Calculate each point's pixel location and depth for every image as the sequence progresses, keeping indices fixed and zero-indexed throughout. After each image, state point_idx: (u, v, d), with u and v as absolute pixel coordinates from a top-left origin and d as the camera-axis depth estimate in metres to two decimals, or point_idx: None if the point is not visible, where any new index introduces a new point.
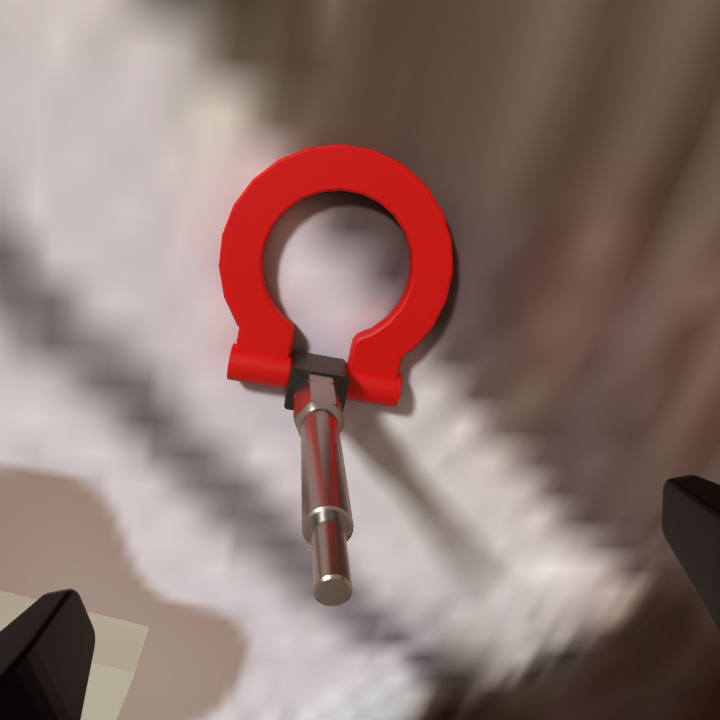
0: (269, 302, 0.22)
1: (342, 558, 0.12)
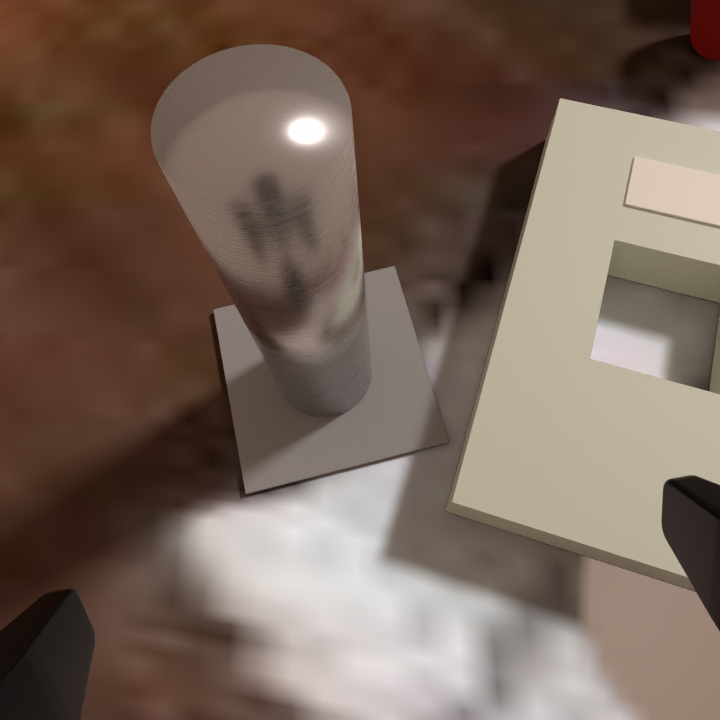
0: None
1: None
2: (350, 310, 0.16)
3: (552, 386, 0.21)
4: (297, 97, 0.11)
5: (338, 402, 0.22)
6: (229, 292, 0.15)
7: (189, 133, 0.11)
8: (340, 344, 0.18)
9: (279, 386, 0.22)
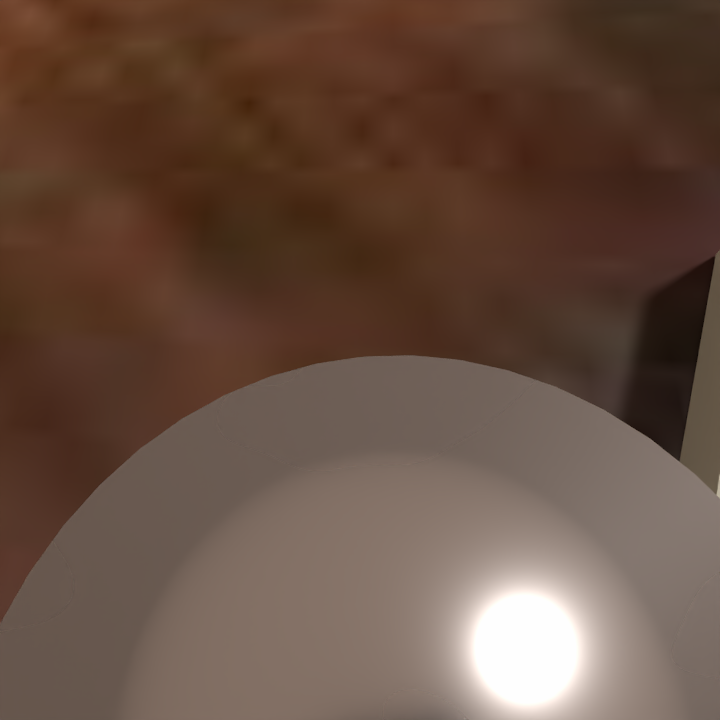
0: None
1: None
2: None
3: None
4: (607, 661, 0.03)
5: None
6: None
7: None
8: None
9: None
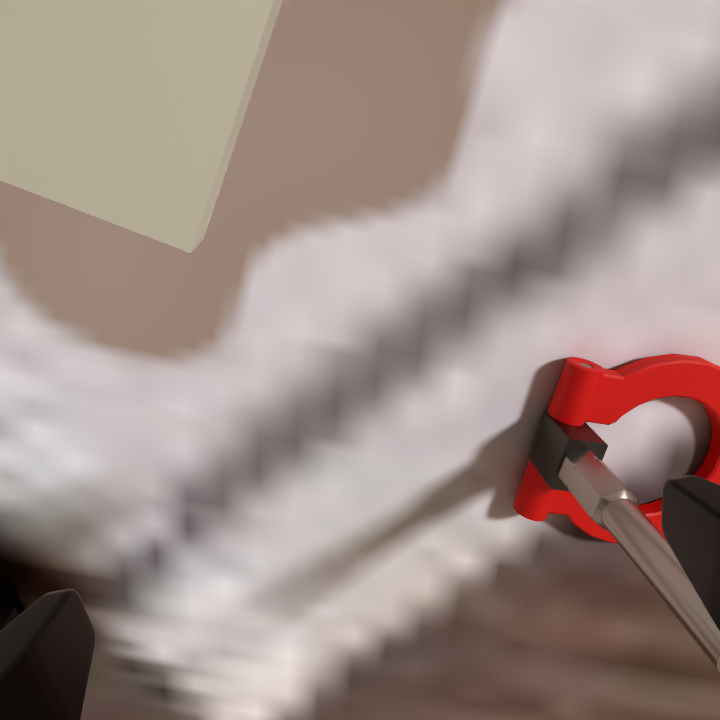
0: (641, 403, 0.23)
1: None
2: None
3: None
4: None
5: None
6: None
7: None
8: None
9: None
